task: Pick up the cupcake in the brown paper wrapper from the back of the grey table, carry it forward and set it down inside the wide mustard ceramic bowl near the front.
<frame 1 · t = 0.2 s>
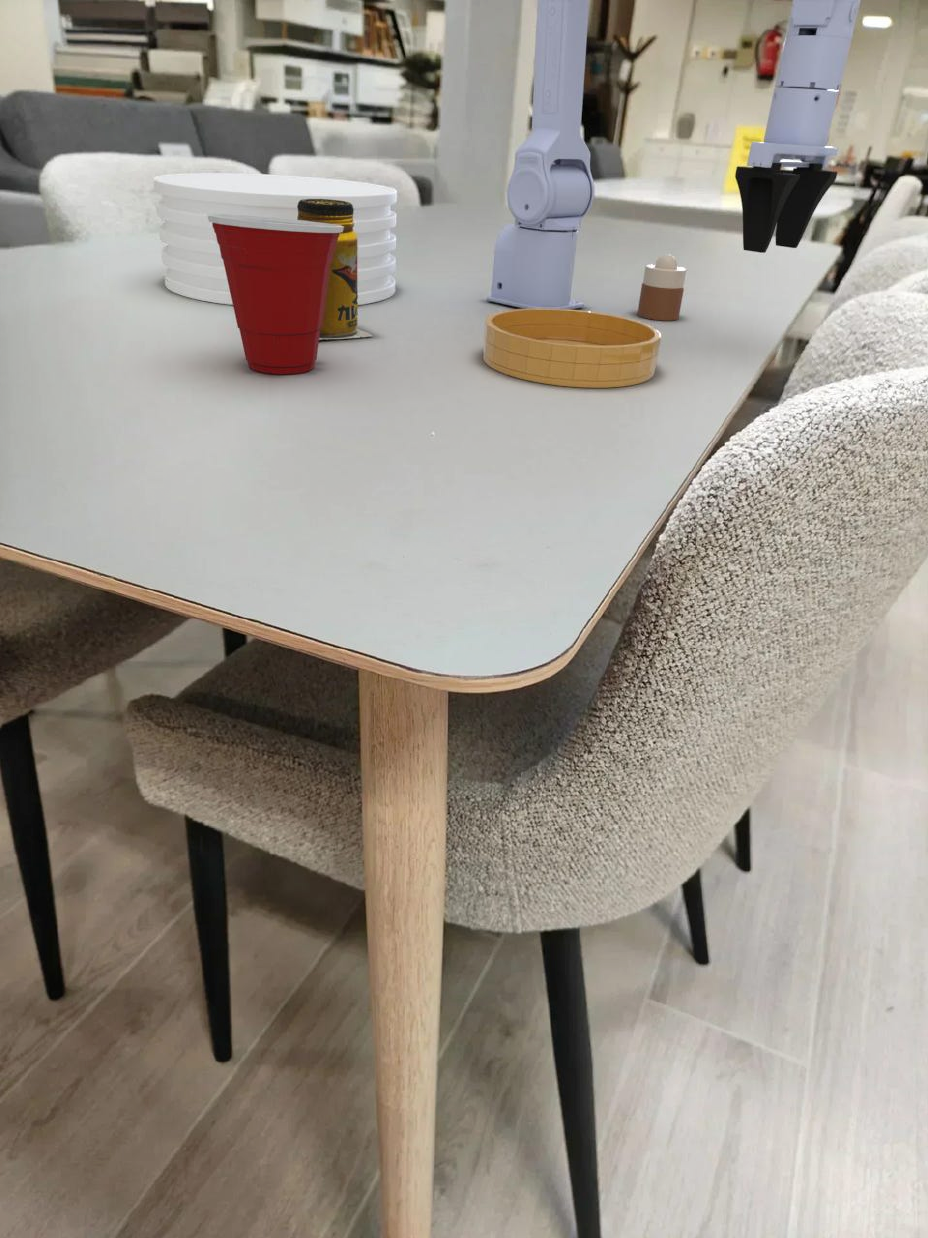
hand: (770, 248, 86), 10 cm above the table, tool pointing down, fingers open, 7 cm apart
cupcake: (657, 316, 105), on the table
plate stack: (283, 287, 107), on the table
plastic cup: (282, 367, 75), on the table
bowl: (568, 363, 81), on the table
condiment: (319, 334, 87), on the table
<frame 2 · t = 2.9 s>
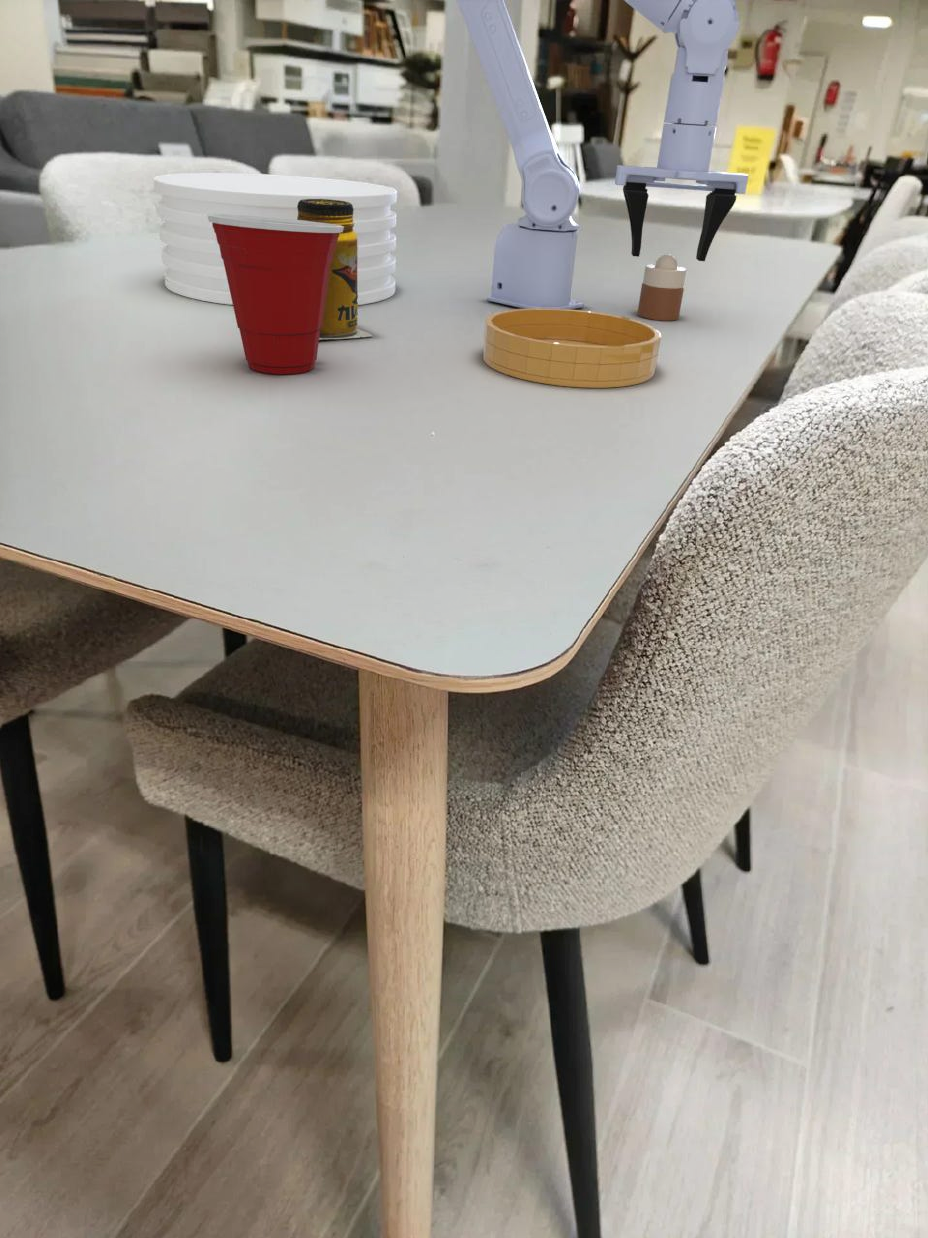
hand: (667, 257, 101), 7 cm above the table, tool pointing down, fingers open, 7 cm apart
nothing on the table moved.
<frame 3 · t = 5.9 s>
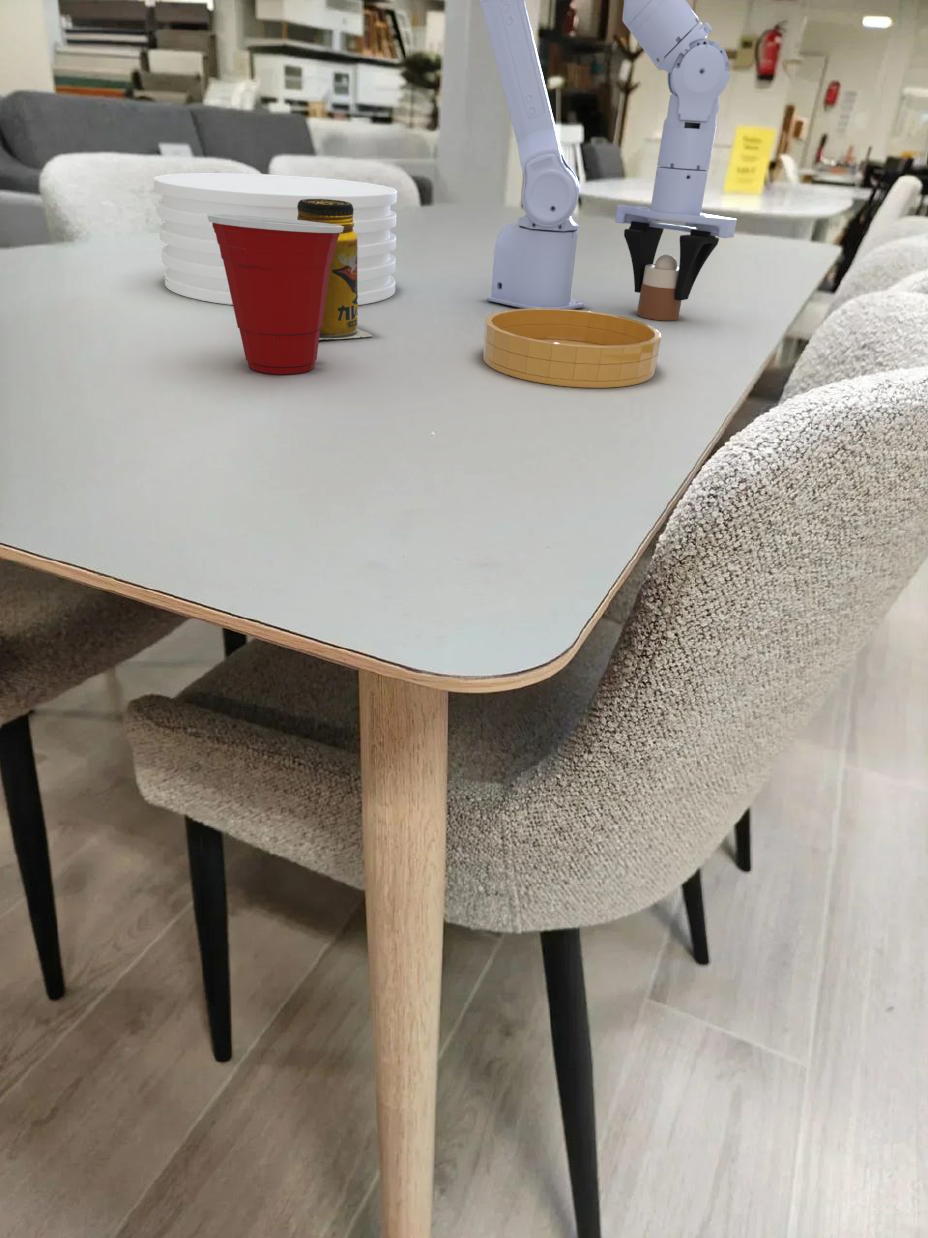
hand: (661, 295, 103), 2 cm above the table, tool pointing down, fingers closed on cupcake, 5 cm apart
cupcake: (657, 316, 105), on the table, touching gripper
everything else where it was.
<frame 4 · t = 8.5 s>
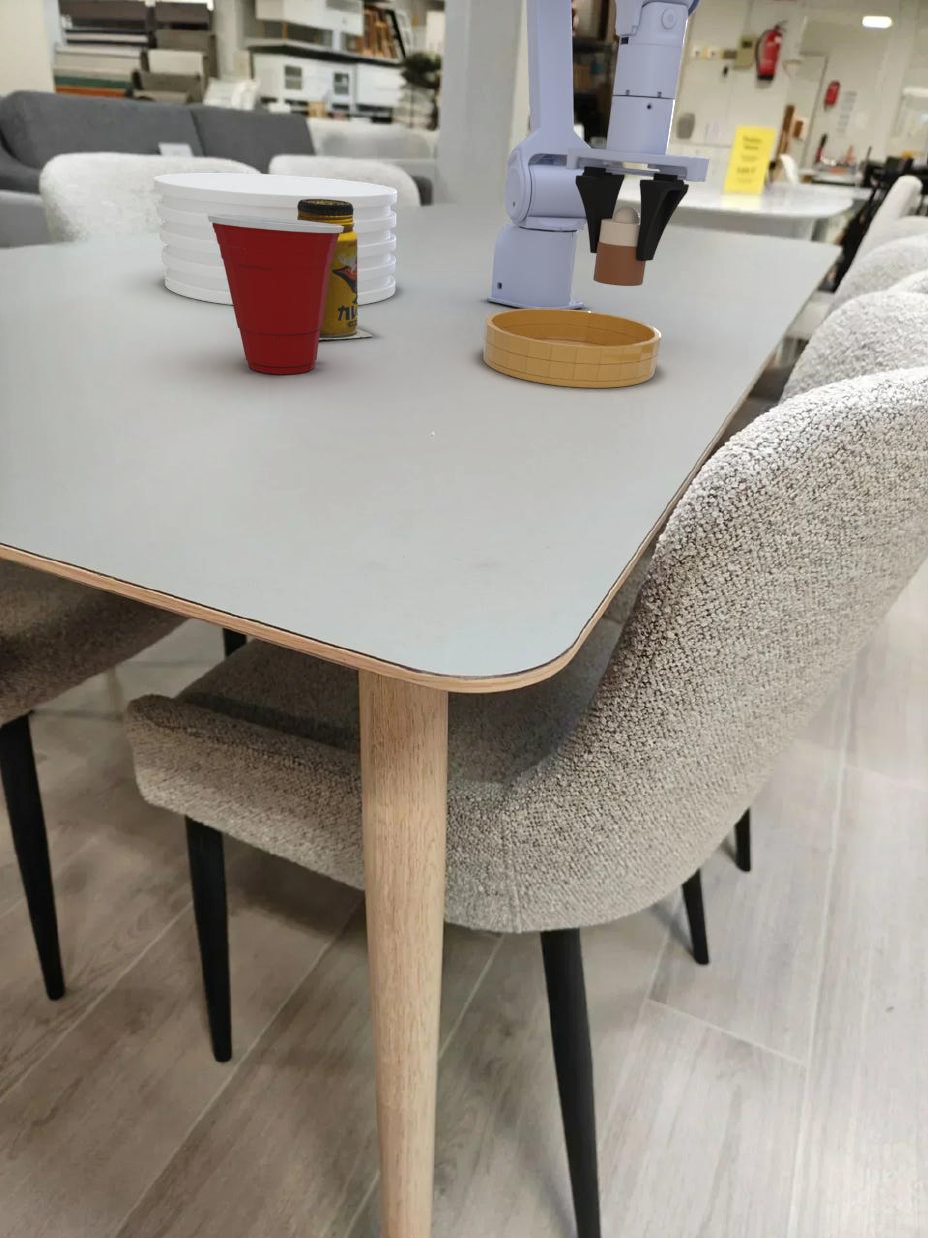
hand: (621, 256, 86), 8 cm above the table, tool pointing down, fingers closed on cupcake, 5 cm apart
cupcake: (617, 281, 87), point 6 cm above the table, touching gripper
everything else where it was.
when the fingers open (3 cm above the table, at t = 11.5 s): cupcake stays where it is, resting on bowl.
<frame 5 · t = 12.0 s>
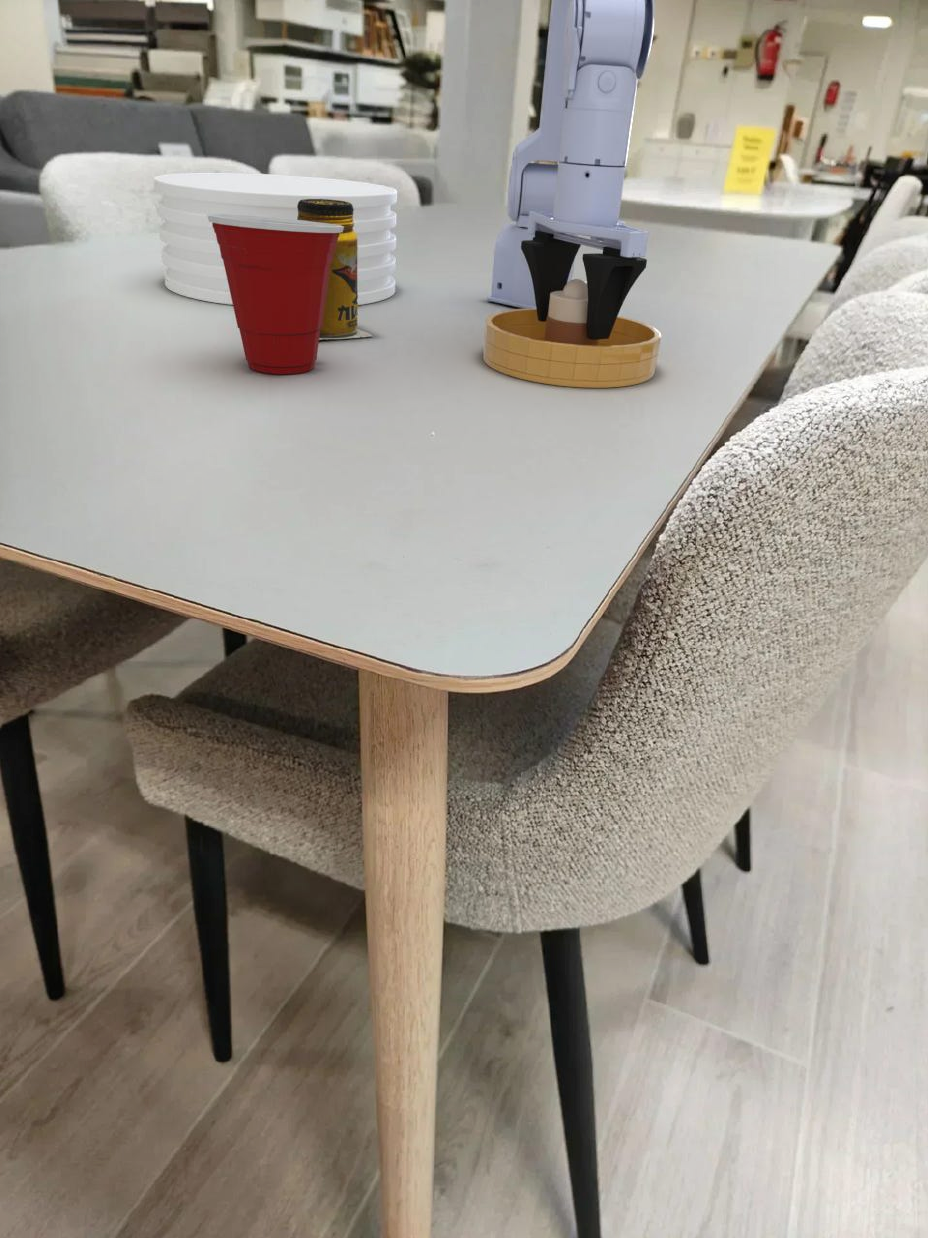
hand: (572, 329, 80), 3 cm above the table, tool pointing down, fingers open, 7 cm apart
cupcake: (569, 357, 81), point 1 cm above the table, touching bowl
everything else where it was.
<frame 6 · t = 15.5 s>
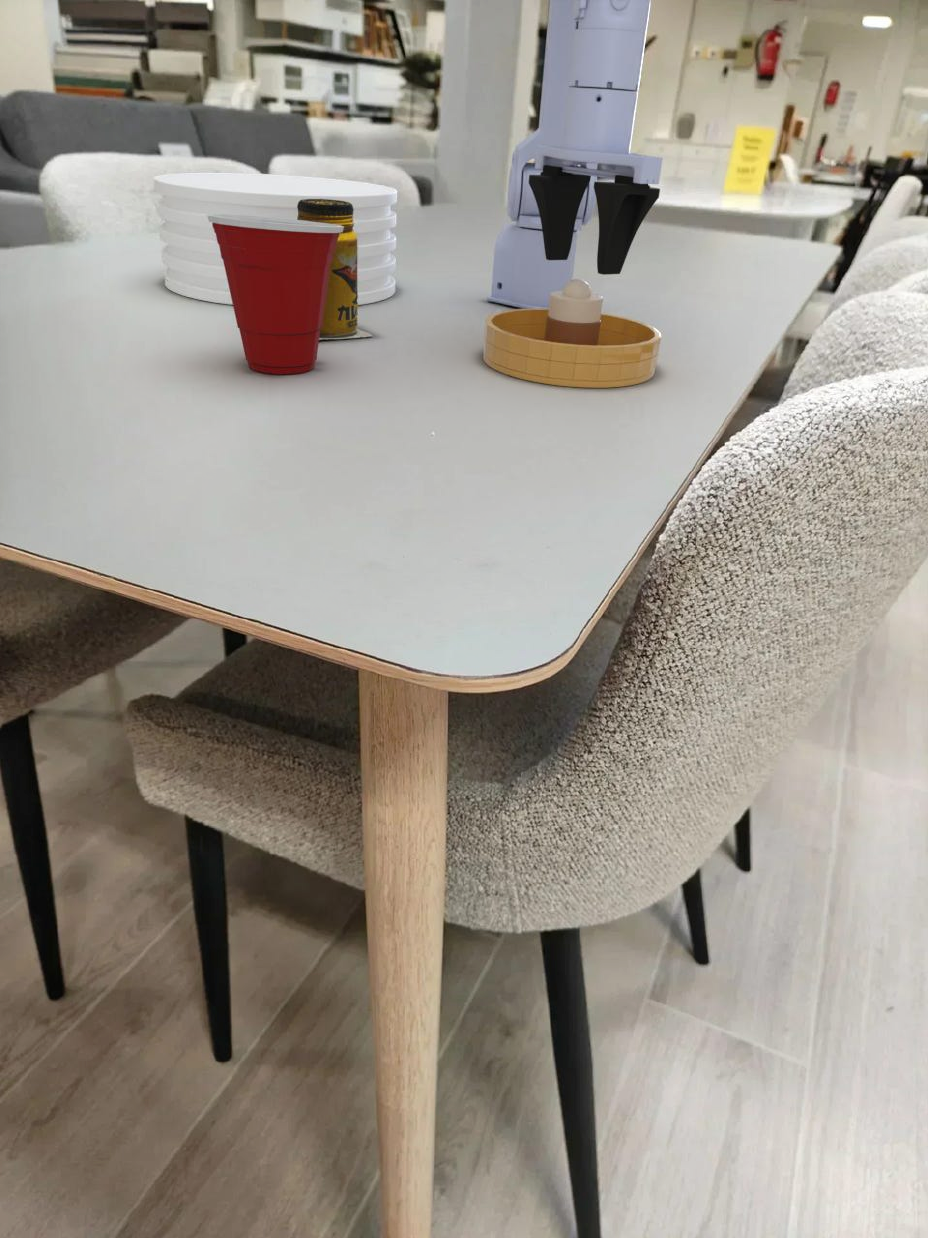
hand: (581, 266, 78), 9 cm above the table, tool pointing down, fingers open, 7 cm apart
nothing on the table moved.
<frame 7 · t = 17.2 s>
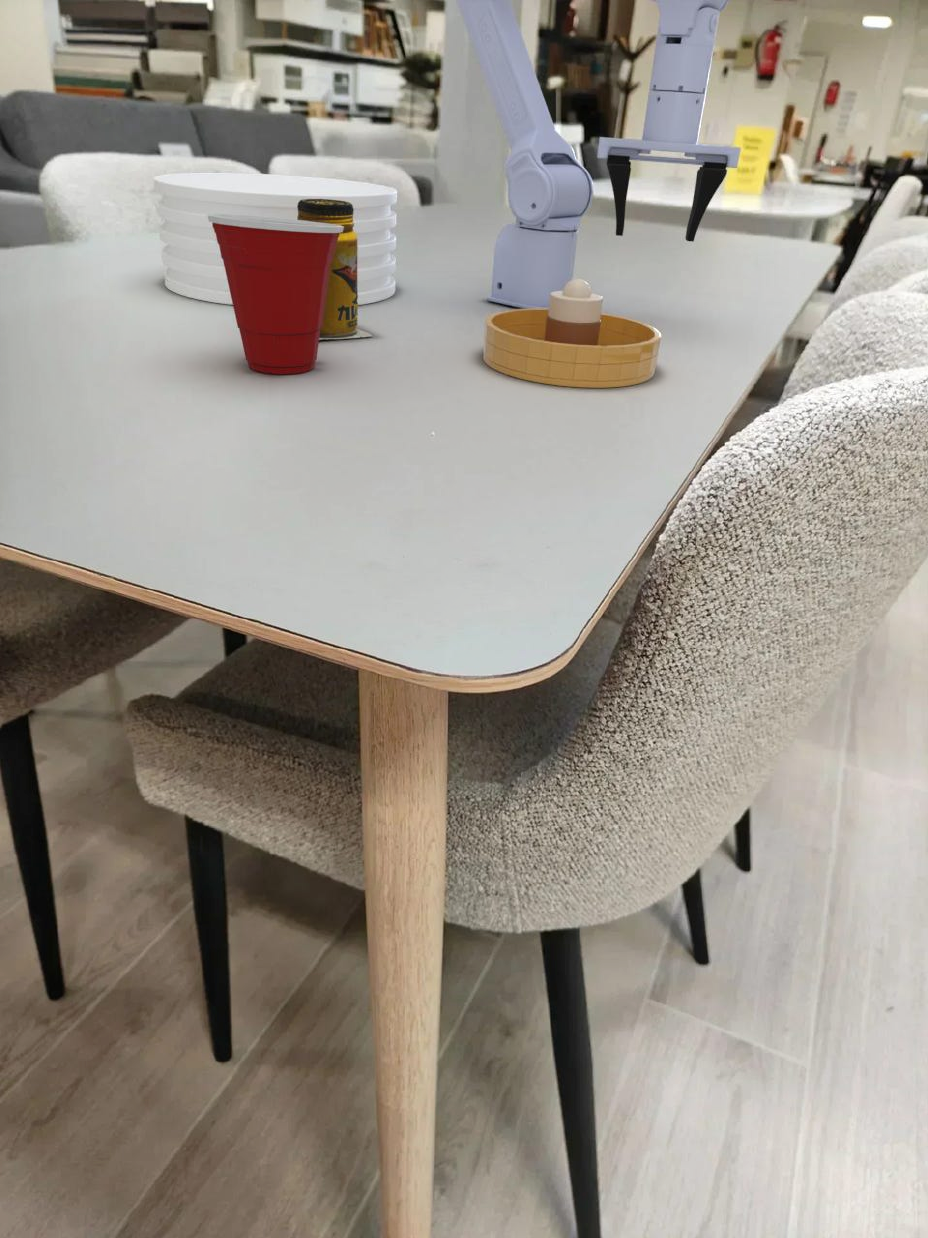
hand: (654, 237, 94), 9 cm above the table, tool pointing down, fingers open, 7 cm apart
nothing on the table moved.
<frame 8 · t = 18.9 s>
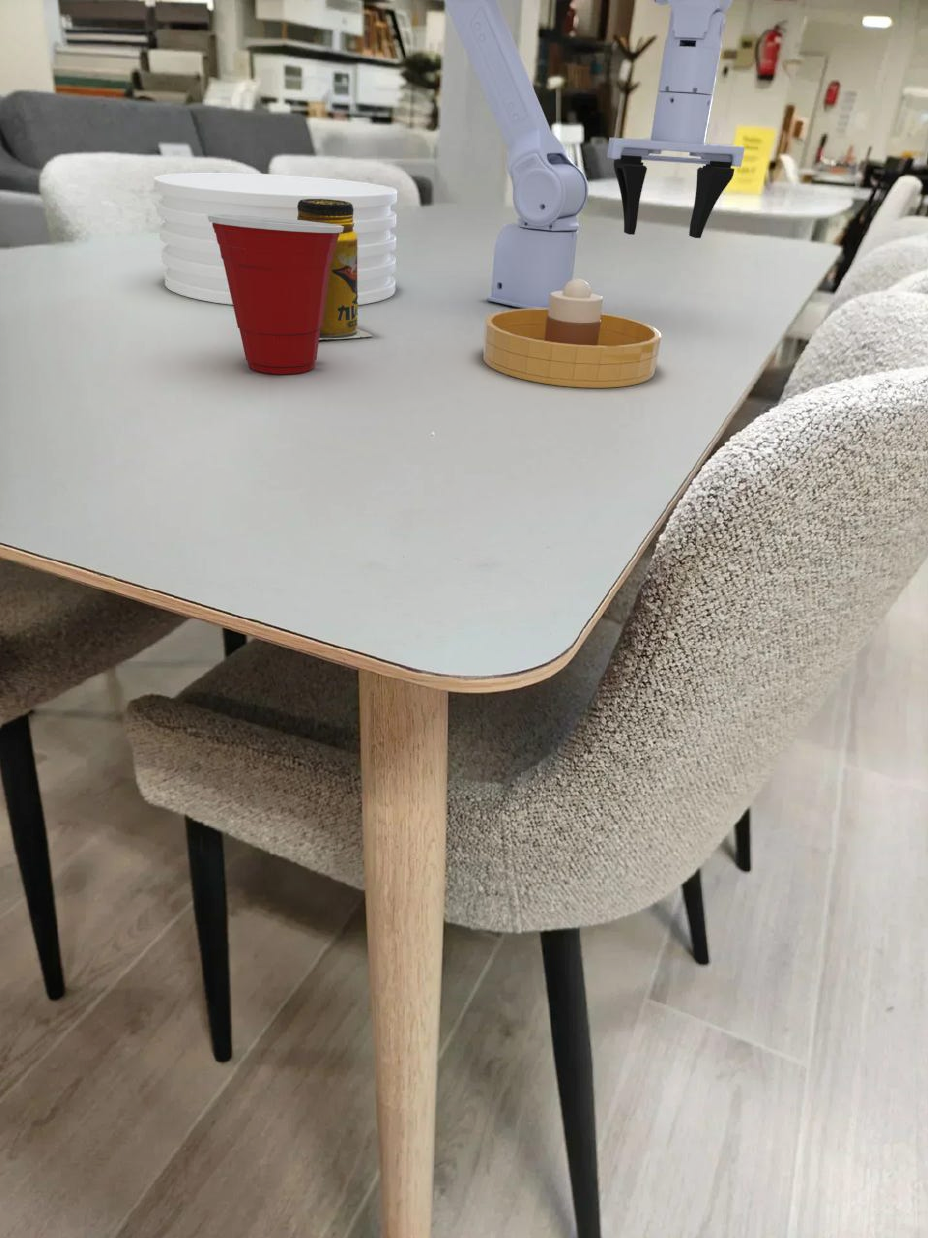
hand: (662, 235, 97), 9 cm above the table, tool pointing down, fingers open, 7 cm apart
nothing on the table moved.
at the end: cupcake inside the target area in the bowl (0.1 cm from its centre), point 0.6 cm above the bowl's base; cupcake tilted 0°; the gripper is holding nothing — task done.
